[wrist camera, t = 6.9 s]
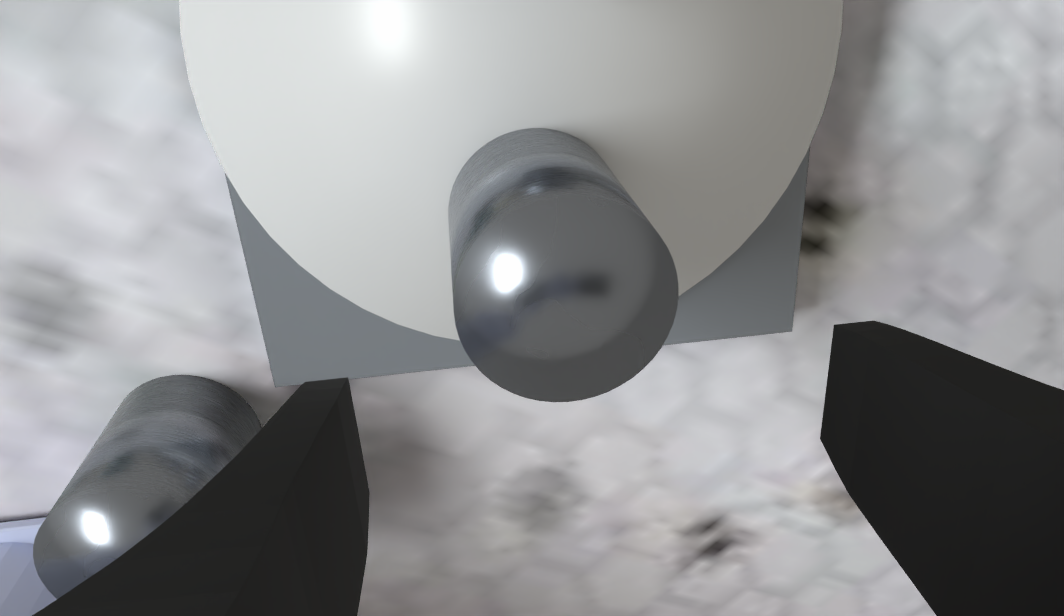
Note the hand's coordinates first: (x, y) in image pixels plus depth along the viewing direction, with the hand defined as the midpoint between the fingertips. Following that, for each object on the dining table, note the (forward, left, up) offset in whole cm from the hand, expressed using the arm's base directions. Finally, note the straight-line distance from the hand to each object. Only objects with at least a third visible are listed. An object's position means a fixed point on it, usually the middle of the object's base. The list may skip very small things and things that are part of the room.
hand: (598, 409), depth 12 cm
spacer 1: (-6, +10, -10) cm, 15 cm away
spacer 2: (0, 0, -8) cm, 8 cm away
